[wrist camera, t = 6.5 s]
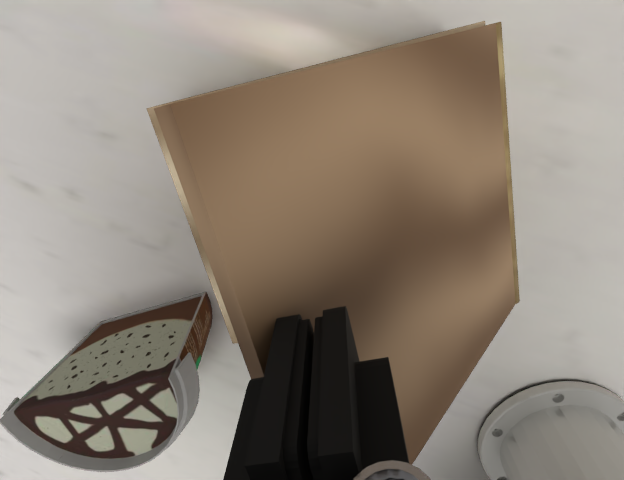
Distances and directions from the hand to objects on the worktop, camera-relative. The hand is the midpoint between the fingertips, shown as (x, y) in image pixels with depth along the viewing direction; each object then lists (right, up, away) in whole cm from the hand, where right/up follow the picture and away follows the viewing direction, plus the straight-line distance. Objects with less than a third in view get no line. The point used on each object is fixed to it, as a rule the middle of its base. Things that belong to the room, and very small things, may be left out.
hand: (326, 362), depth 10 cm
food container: (-12, -5, +24) cm, 27 cm away
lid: (+4, +3, +5) cm, 7 cm away
